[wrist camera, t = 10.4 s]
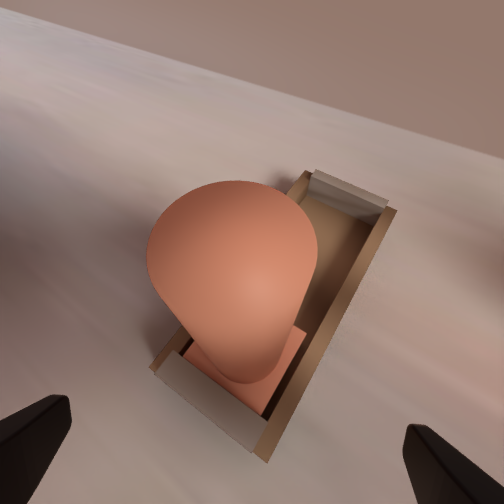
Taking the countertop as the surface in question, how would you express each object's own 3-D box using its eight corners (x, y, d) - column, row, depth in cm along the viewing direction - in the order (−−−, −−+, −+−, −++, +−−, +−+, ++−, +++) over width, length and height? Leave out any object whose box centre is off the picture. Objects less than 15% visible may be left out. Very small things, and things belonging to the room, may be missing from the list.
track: (265, 456, 14) (268, 467, 11) (162, 374, 16) (141, 364, 13) (382, 231, 21) (404, 200, 18) (300, 193, 23) (307, 159, 20)
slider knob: (260, 416, 14) (269, 410, 4) (189, 362, 16) (77, 266, 6) (302, 341, 16) (374, 220, 6) (236, 299, 17) (210, 145, 8)
